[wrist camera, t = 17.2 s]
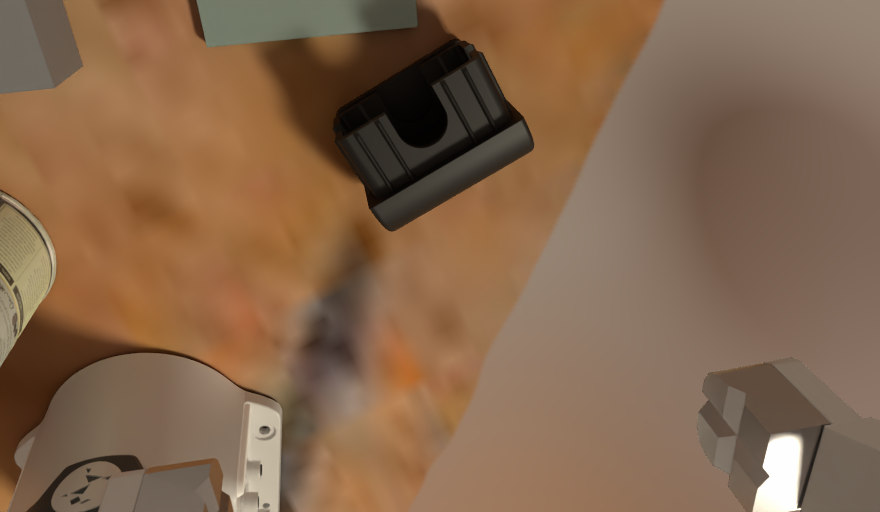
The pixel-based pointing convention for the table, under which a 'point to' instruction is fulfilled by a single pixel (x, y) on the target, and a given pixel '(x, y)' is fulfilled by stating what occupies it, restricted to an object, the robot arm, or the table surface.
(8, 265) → the coffee can
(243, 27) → the mat
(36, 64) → the grey holed block
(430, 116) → the end cap
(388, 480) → the table surface
